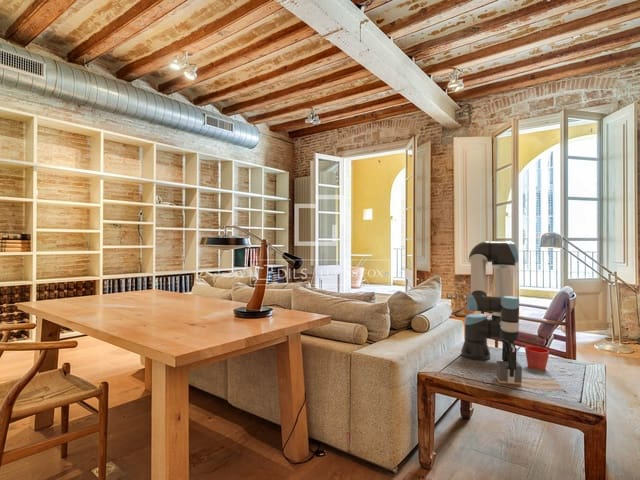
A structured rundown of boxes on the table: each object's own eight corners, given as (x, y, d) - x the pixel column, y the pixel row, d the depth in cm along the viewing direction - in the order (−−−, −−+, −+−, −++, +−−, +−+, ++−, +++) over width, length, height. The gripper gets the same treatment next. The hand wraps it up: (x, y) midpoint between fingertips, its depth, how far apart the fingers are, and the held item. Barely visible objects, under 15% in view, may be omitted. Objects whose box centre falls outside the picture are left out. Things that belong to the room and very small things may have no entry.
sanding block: (496, 377, 174) (496, 360, 173) (517, 379, 172) (517, 362, 172) (499, 382, 168) (500, 365, 168) (521, 384, 166) (521, 366, 166)
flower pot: (542, 364, 194) (542, 346, 194) (553, 372, 184) (553, 352, 183) (521, 363, 196) (521, 345, 195) (530, 371, 185) (531, 352, 184)
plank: (493, 376, 177) (493, 374, 177) (553, 381, 172) (553, 379, 172) (500, 387, 164) (500, 385, 164) (565, 393, 159) (565, 391, 159)
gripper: (495, 324, 179) (494, 372, 180) (506, 335, 161) (505, 387, 161) (512, 325, 178) (511, 373, 178) (525, 336, 159) (524, 389, 160)
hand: (508, 380), depth 170 cm, fingers closed on sanding block, 6 cm apart
